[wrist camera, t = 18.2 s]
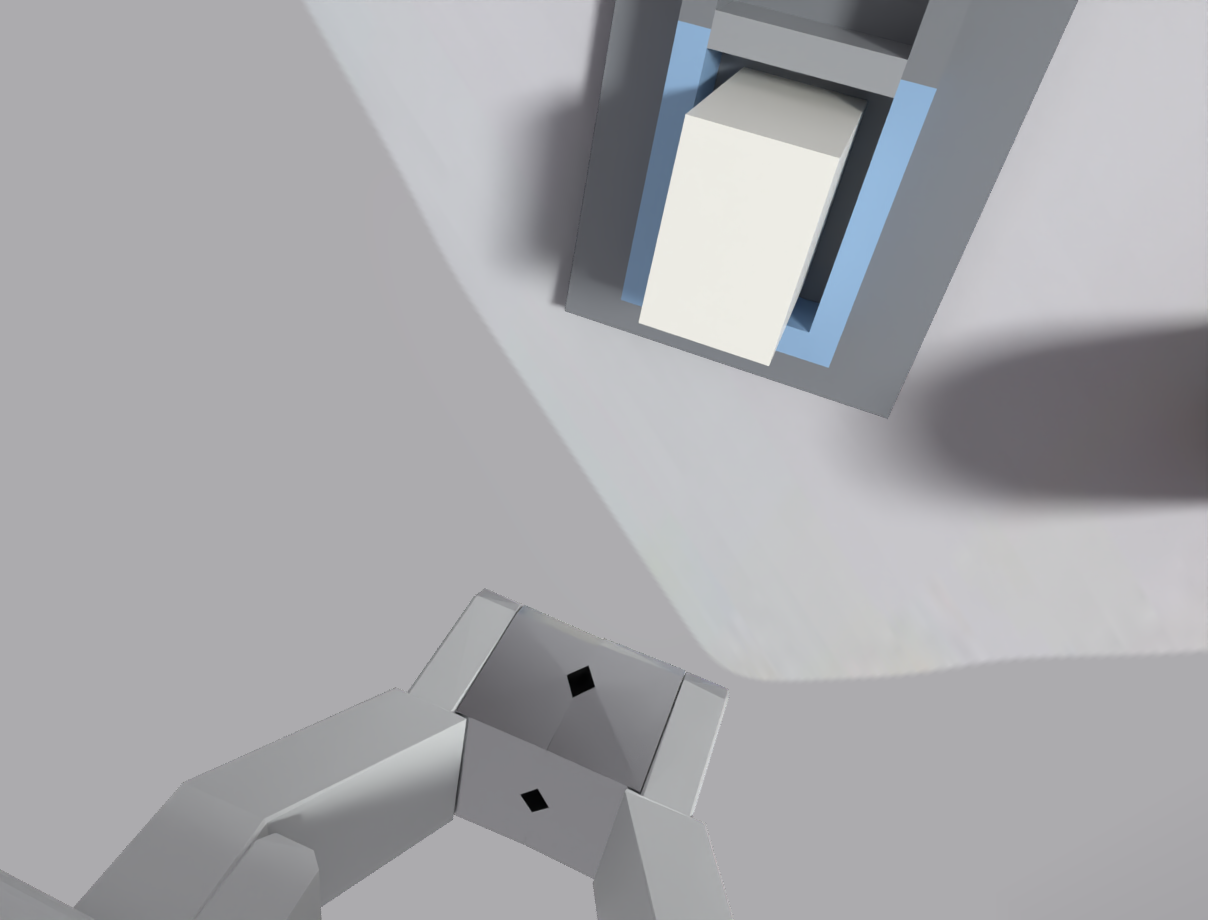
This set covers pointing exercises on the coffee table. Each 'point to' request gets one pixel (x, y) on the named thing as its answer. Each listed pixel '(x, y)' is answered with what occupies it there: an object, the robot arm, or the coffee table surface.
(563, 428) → the coffee table surface
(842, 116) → the plug
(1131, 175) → the coffee table surface
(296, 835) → the robot arm
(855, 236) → the divided sorting tray
